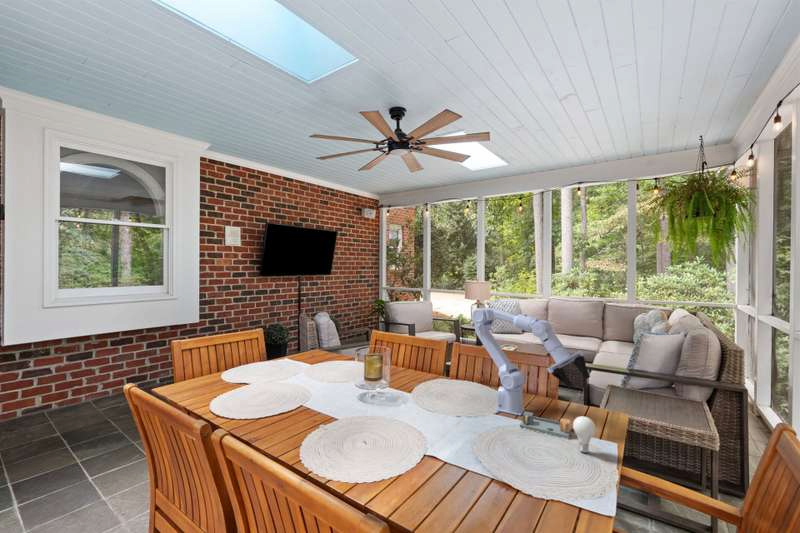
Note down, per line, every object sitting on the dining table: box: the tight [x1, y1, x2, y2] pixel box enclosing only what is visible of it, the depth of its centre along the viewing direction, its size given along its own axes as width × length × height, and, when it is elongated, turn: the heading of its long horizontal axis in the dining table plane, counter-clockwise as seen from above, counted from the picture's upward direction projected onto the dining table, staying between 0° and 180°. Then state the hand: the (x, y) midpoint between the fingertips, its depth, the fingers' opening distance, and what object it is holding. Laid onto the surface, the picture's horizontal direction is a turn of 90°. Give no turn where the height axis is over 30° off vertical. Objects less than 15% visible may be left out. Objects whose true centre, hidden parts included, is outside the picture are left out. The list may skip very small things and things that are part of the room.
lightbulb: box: [572, 415, 597, 454], centre depth 114 cm, size 6×6×11 cm
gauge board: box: [519, 410, 573, 440], centre depth 131 cm, size 16×10×4 cm, turn 60°
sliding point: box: [559, 418, 571, 433], centre depth 126 cm, size 3×5×3 cm, turn 150°
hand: (579, 382), depth 129 cm, fingers open, 7 cm apart
